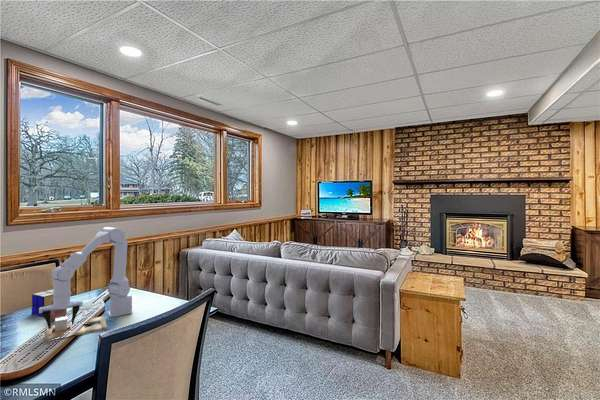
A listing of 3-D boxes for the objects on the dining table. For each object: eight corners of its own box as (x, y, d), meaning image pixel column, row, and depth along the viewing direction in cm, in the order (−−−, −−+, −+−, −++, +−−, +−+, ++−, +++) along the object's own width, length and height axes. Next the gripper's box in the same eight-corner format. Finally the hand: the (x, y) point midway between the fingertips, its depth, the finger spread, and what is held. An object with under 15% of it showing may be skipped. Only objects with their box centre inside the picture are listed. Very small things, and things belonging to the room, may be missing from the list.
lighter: (52, 322, 135) (52, 301, 135) (46, 321, 136) (46, 300, 136) (68, 315, 143) (69, 295, 143) (63, 315, 144) (63, 295, 144)
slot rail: (104, 317, 141) (104, 315, 141) (106, 328, 129) (106, 326, 129) (47, 328, 128) (47, 326, 128) (44, 342, 116) (44, 339, 116)
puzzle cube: (31, 314, 144) (31, 294, 145) (54, 307, 154) (55, 288, 154) (43, 317, 141) (43, 296, 141) (66, 310, 150) (66, 291, 150)
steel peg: (67, 329, 128) (67, 316, 128) (66, 333, 125) (67, 319, 125) (55, 332, 126) (55, 318, 126) (54, 335, 122) (55, 321, 122)
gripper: (38, 300, 118) (37, 333, 118) (82, 293, 127) (82, 324, 127) (40, 295, 124) (39, 327, 123) (82, 289, 132) (82, 319, 132)
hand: (61, 325), depth 125 cm, fingers open, 7 cm apart
